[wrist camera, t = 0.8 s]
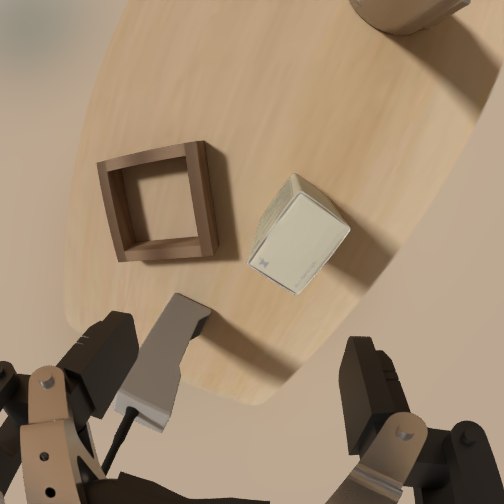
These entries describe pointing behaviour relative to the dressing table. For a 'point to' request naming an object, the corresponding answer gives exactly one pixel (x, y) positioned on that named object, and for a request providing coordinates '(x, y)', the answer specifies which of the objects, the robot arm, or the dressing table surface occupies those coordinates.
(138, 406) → the vintage mobile phone
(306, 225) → the skincare box
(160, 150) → the walnut holder
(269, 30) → the dressing table surface
